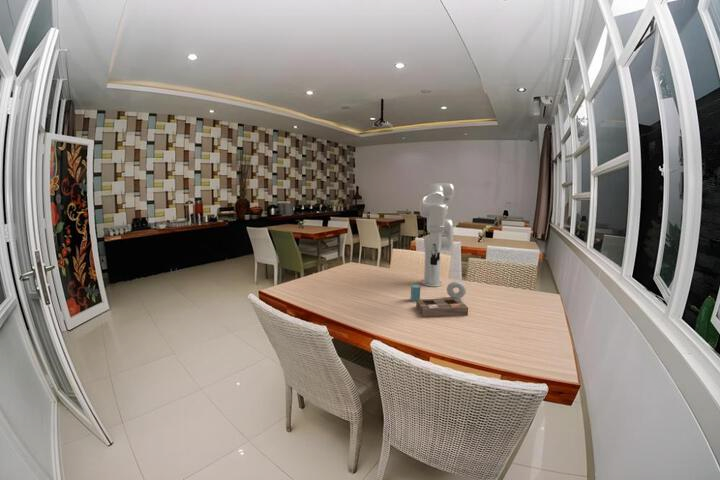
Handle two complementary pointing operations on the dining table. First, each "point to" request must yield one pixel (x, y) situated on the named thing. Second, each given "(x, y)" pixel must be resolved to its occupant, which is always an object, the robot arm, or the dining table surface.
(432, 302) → the socket block
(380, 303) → the dining table surface
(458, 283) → the donut
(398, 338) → the dining table surface
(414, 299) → the plug
